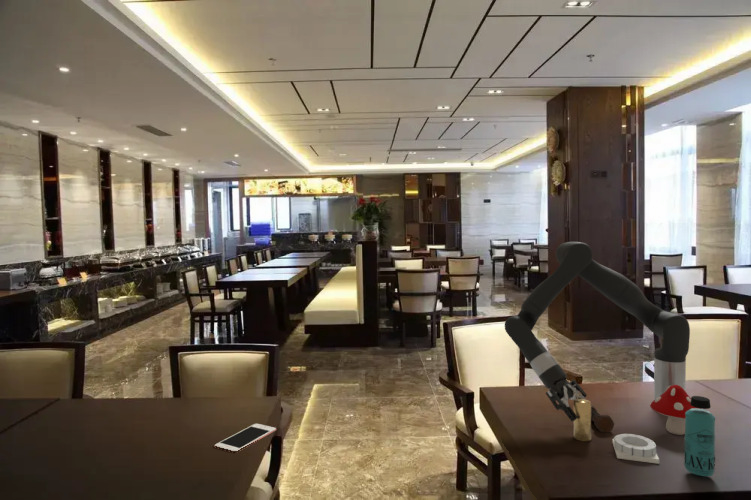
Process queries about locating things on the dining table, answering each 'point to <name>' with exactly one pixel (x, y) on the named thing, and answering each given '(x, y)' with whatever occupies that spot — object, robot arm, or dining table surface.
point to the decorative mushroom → (673, 408)
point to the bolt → (601, 421)
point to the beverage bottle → (699, 438)
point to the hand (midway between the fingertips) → (582, 416)
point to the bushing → (582, 420)
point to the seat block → (635, 448)
